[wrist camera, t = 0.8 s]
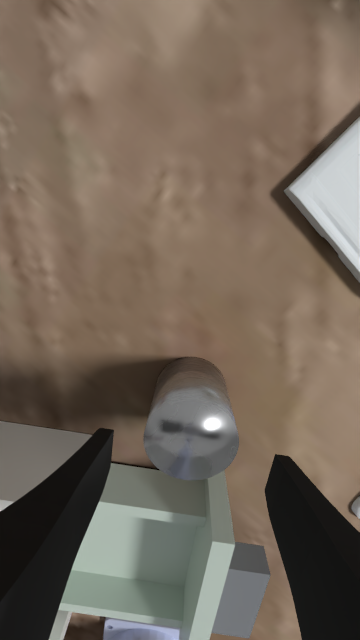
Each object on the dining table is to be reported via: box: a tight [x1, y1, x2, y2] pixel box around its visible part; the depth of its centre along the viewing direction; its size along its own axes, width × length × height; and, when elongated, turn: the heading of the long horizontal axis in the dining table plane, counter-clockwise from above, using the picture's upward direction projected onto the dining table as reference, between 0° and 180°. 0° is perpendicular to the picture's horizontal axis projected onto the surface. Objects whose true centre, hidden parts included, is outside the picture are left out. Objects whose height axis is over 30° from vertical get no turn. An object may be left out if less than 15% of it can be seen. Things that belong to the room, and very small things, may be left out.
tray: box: [58, 463, 270, 640], centre depth 18 cm, size 13×19×5 cm
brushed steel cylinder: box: [144, 357, 239, 480], centre depth 15 cm, size 5×5×5 cm
